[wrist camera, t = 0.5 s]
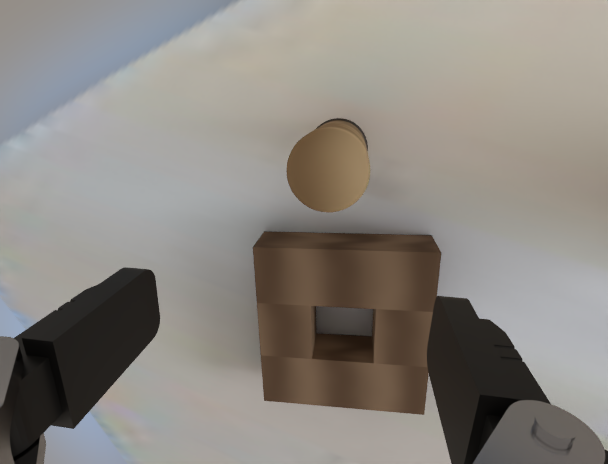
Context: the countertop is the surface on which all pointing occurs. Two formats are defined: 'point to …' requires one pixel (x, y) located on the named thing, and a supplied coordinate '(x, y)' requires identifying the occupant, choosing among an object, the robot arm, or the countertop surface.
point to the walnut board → (350, 294)
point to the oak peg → (330, 166)
